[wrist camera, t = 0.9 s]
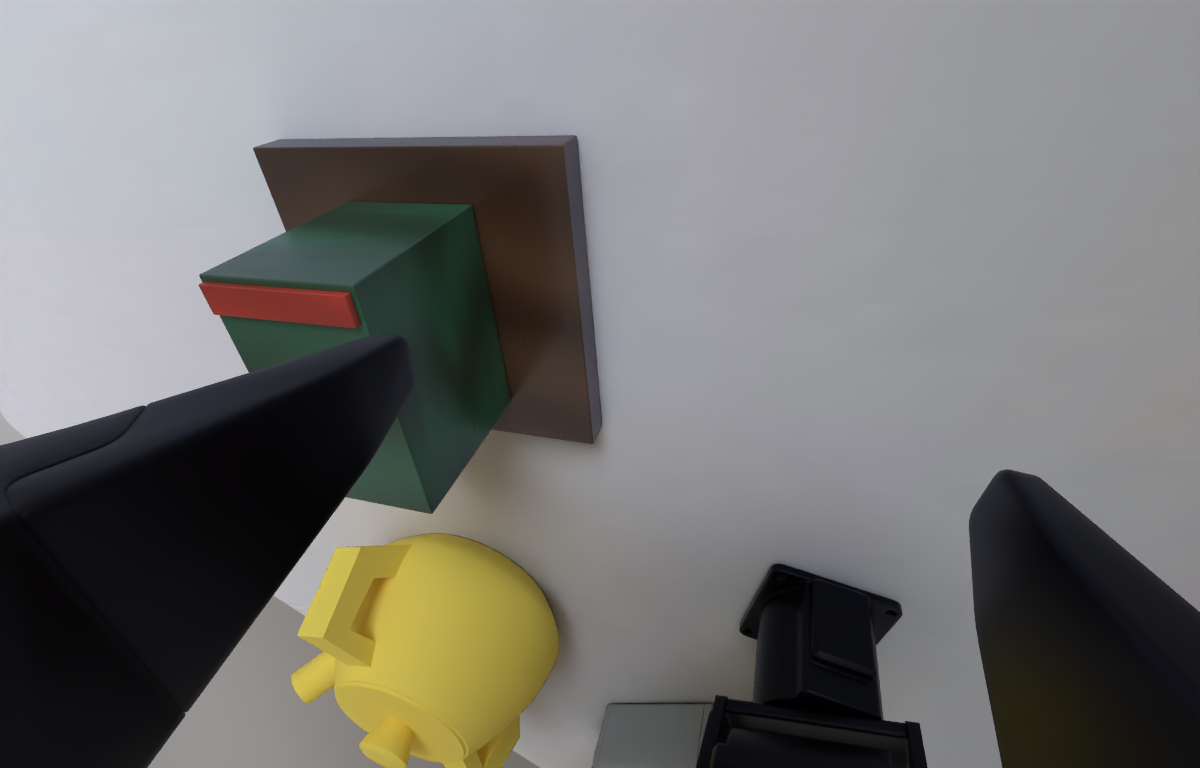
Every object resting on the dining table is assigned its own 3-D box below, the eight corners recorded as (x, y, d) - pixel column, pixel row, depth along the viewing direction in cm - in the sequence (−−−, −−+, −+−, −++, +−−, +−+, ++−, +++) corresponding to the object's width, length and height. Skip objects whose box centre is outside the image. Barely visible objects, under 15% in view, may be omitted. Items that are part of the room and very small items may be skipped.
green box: (511, 401, 26) (428, 520, 20) (408, 387, 27) (304, 494, 22) (472, 204, 21) (346, 289, 15) (347, 201, 22) (190, 278, 16)
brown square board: (602, 424, 27) (593, 444, 26) (373, 393, 31) (356, 410, 29) (577, 135, 20) (563, 145, 18) (279, 139, 23) (251, 147, 22)
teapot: (282, 502, 40) (141, 645, 32) (481, 475, 32) (362, 658, 23) (431, 666, 49) (351, 812, 40) (617, 677, 41) (566, 864, 32)
